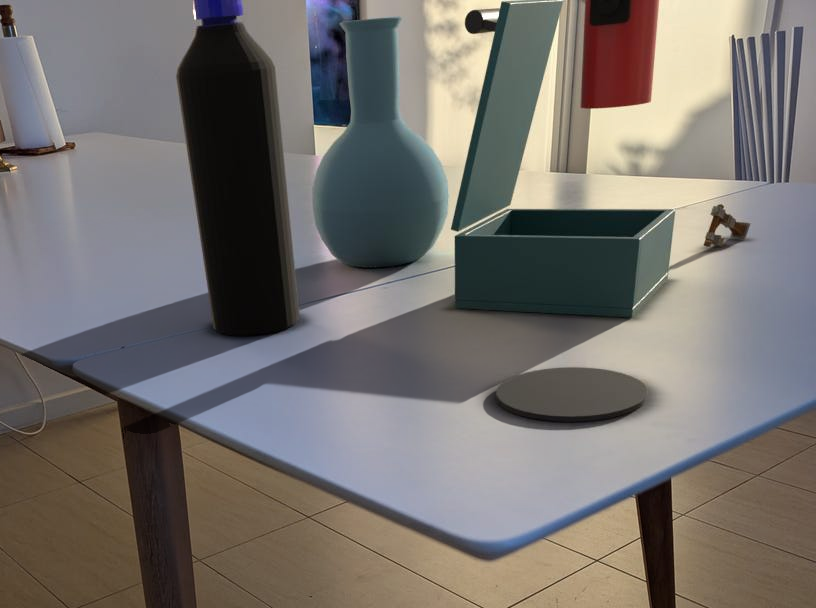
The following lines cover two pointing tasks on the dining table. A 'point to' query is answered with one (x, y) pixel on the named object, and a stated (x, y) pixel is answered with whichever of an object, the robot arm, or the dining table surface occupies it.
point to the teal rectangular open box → (564, 261)
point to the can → (619, 58)
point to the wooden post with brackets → (720, 217)
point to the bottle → (238, 174)
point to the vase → (378, 164)
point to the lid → (504, 103)
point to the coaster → (571, 394)
